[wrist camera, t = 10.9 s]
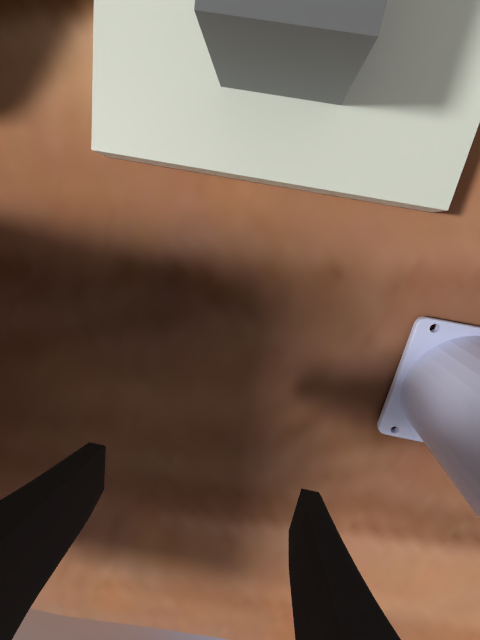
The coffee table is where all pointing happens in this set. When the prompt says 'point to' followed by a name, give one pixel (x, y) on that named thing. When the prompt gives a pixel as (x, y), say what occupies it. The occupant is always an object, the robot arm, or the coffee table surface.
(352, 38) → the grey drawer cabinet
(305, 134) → the plate
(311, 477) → the coffee table surface
